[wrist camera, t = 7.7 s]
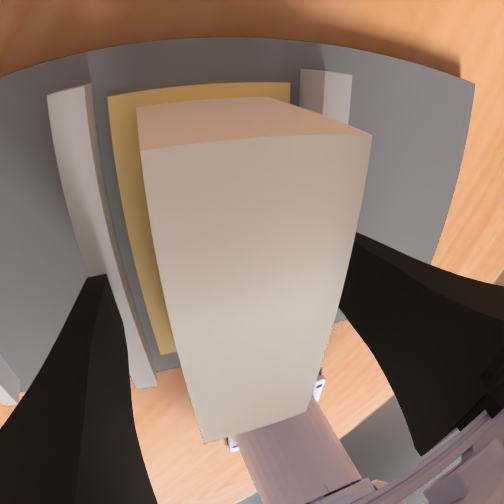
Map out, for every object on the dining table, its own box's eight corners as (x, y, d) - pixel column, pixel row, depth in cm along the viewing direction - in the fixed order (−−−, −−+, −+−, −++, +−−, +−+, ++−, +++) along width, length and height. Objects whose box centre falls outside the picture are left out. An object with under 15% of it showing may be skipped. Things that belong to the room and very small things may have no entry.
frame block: (259, 324, 15) (305, 411, 11) (175, 344, 14) (204, 443, 10) (267, 96, 9) (372, 134, 5) (136, 107, 8) (140, 151, 4)
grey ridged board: (410, 282, 20) (433, 304, 18) (1, 379, 12) (-3, 415, 11) (461, 79, 12) (497, 91, 10) (-113, 140, 5) (-148, 162, 3)
